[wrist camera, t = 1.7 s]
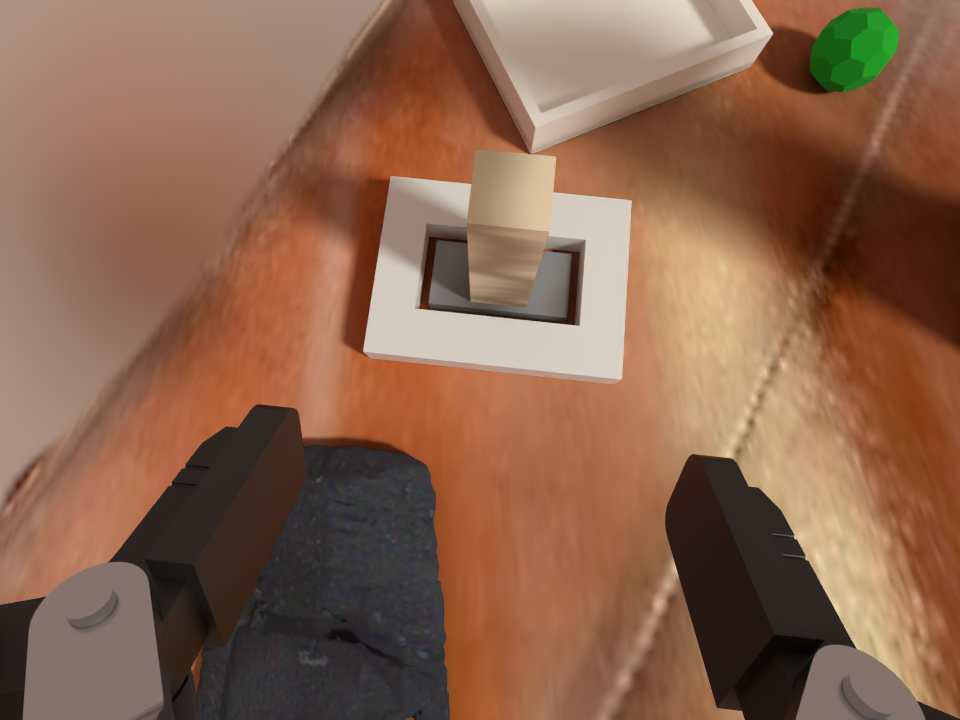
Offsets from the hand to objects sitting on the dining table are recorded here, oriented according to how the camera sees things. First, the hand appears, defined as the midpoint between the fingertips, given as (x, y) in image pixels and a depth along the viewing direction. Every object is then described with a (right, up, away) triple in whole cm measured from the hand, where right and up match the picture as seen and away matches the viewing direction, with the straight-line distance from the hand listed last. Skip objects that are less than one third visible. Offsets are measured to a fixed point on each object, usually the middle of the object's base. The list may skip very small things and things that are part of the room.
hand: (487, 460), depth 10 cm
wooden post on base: (+1, +7, +24) cm, 25 cm away
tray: (+9, +27, +27) cm, 39 cm away
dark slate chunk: (-9, -14, +20) cm, 26 cm away
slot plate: (+1, +7, +23) cm, 25 cm away
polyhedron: (+26, +23, +27) cm, 44 cm away
